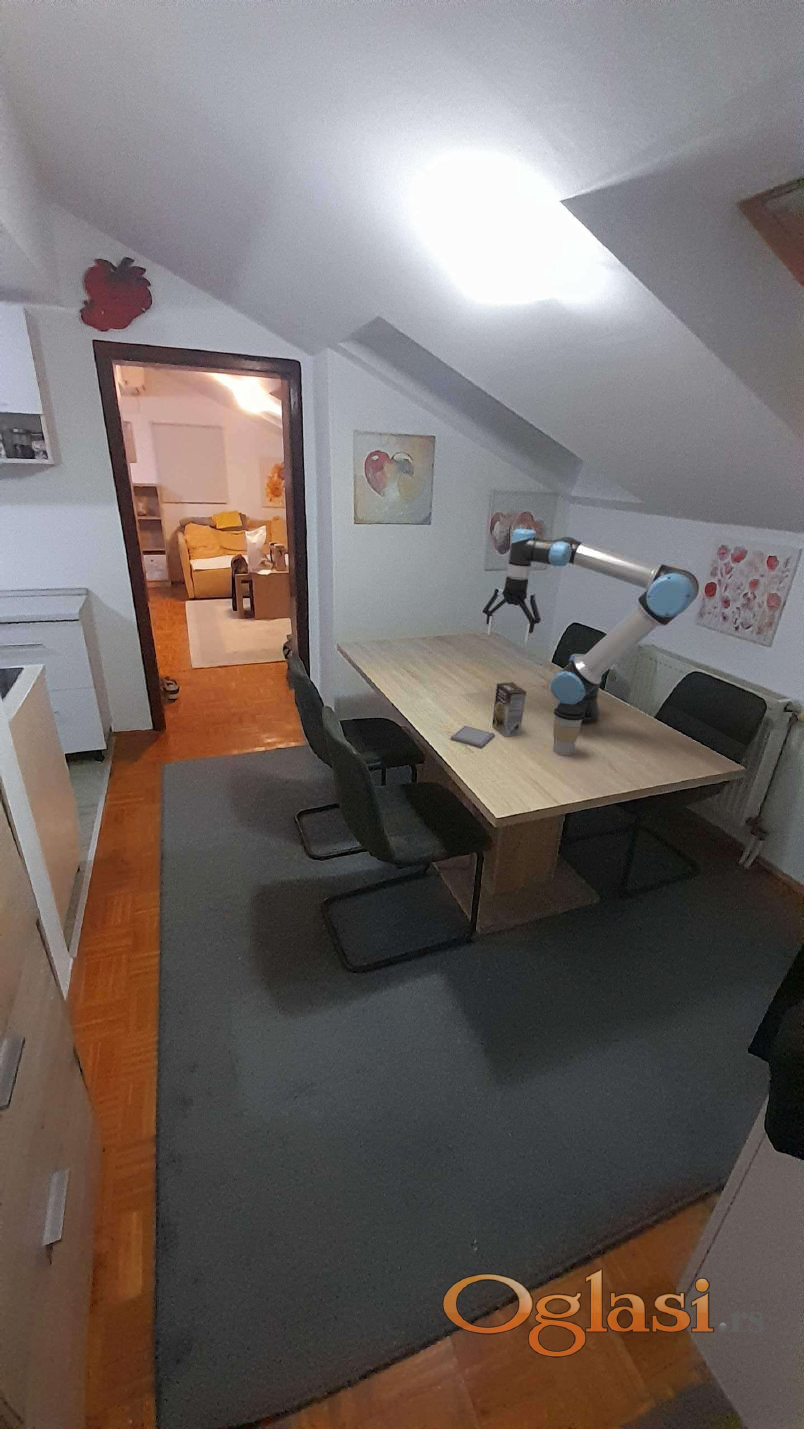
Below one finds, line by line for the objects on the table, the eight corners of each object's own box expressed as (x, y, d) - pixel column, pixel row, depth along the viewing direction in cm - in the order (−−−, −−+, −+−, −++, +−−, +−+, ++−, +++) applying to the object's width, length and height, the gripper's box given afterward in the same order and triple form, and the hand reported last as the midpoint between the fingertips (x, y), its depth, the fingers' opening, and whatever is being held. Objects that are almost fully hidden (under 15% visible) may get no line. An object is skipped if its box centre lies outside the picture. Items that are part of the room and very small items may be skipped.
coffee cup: (555, 742, 194) (562, 700, 188) (582, 751, 189) (590, 708, 183) (542, 751, 187) (549, 708, 181) (570, 761, 182) (578, 717, 176)
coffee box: (491, 726, 204) (496, 683, 197) (507, 724, 206) (512, 681, 199) (504, 737, 196) (509, 692, 189) (520, 735, 198) (527, 690, 192)
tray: (494, 736, 196) (494, 733, 196) (481, 748, 187) (481, 745, 187) (464, 728, 201) (465, 725, 201) (450, 739, 192) (450, 736, 192)
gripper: (556, 581, 196) (545, 642, 205) (485, 569, 205) (477, 628, 214) (551, 585, 190) (540, 647, 199) (478, 572, 199) (470, 633, 208)
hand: (507, 637), depth 206 cm, fingers open, 13 cm apart
